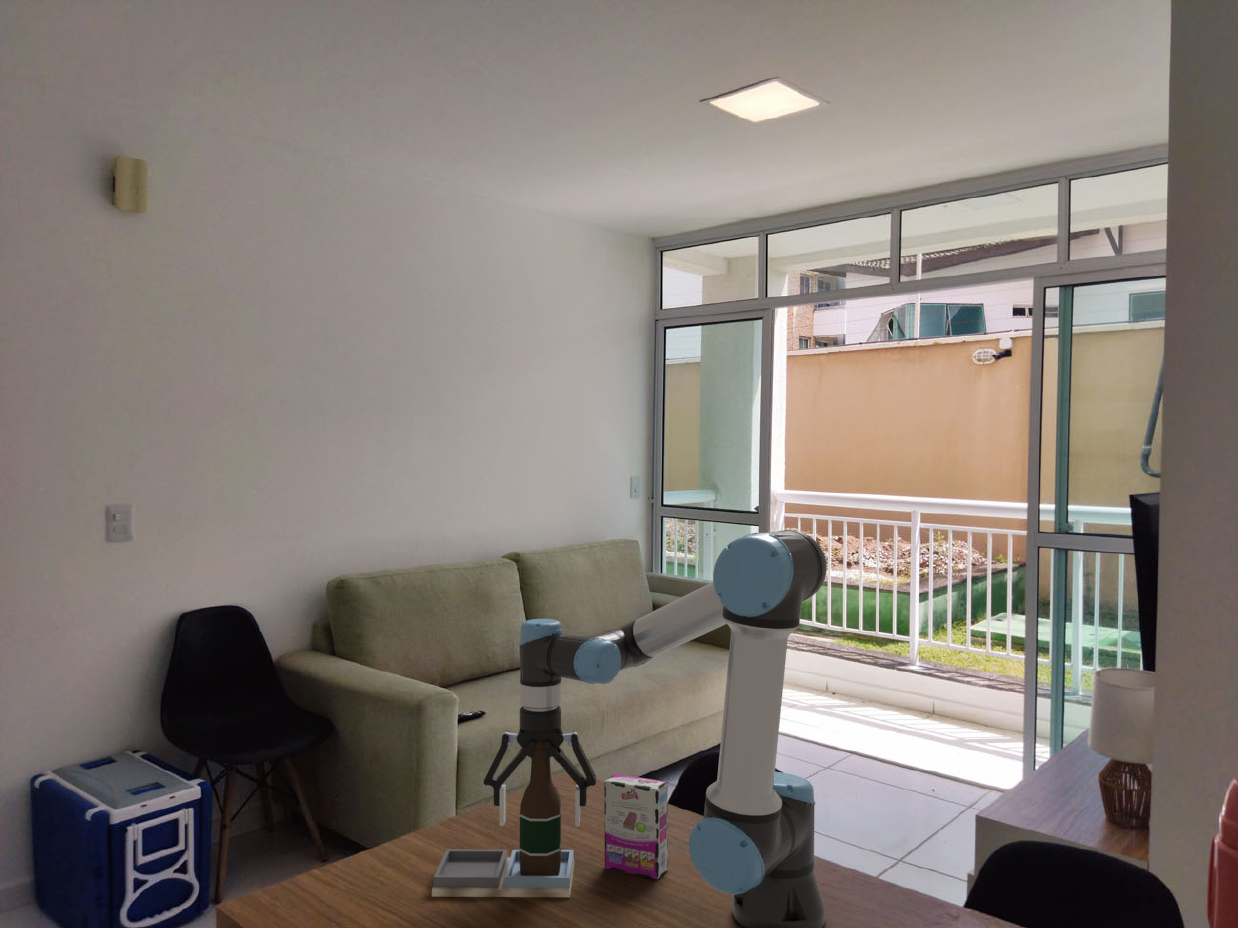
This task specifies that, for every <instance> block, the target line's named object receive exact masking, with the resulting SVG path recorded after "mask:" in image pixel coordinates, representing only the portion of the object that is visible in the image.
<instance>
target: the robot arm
mask: <svg viewBox="0 0 1238 928" xmlns="http://www.w3.org/2000/svg"><path fill="white" fill-rule="evenodd" d="M827 563H828V562H827V558H826V555H825V552H824V551H823V548H822V547H821V546H820V544H819V543H818V542H817V541H816V540H815V539H814V538H812V537H811V536H810V535H808V534H806V533H805V532H802V531H799V530H793V529H787V530H786V529H785V530H778V531H769V532H768V531H767V532H753V533H749V534H747V535H743V536H741V537H738V538H736V539H734V540H733V541H730V542H729V543H728V544H727V545H726V546H725V547H724V548H723V549H722V550H721V551H720V553H719V555H718V556H717V559H716V561H715V562H714V567H713V572H712V579H713V581H712V582H710V583H708V584H705V585H704V586H703V585H702V586H701V587H700V588H698V589H696V590H693V591H692V592H690V593H688V594H685V595H683V596H680V597H679V598H678V599H675V600H674V601H671V602H670V603H667V604H665V605H663V606H661V607H659V608H657V609H655V610H653V611H652V612H648V613H646V614H645V615H643V616H641V617H639V618H637V619H635V620H632V621H630V622H629V623H627V624H625V625H622V626H620V627H617V628H615V629H609V630H606V631H603V632H598V633H594V634H589V635H585V636H583V635H582V636H581V635H572V634H571V635H570V634H566V633H563V629H562V623H561V621H559V620H556V619H553V618H534V619H528V620H525V621H523V622H522V624H521V625H520V634H519V644H518V646H519V705H521V706H520V707H519V729H518V730H519V732H518V733H514V732H510V731H509V730H507V729H506V730H505V731H504V732H503V733H502V736H501V742H500V747H499V749H498V751H497V753H496V755H495V756H494V759H493V761H492V763H491V764H490V768H489V769H488V771H487V774H486V775H485V777H484V779H483V785H484V786H489V787H492V788H493V804H494V807H499V827H505V824H506V820H507V812H506V811H507V791H506V790H507V785H506V784H504V783H505V782H506V781H507V779H508V778H509V777H510V776H511V775H512V774H513V772H514V771H515V770H516V769H517V768H518V766H520V765H521V763H522V762H523V761H524V760H525V759H526V757H529V758H530V759H531V760H532V759H533V757H534V750H535V748H534V747H535V746H536V741H544V743H543V746H544V748H545V749H546V756H547V759H549V758H550V759H551V758H552V757H553V759H554V761H556V763H558V764H559V765H560V766H561V767H562V768H563V770H564V771H565V772H566V773H567V774H568V775H569V777H570V778H571V779H572V780H573V782H574V783H575V784H576V785H575V789H574V790H575V793H574V798H575V799H574V801H575V803H574V805H575V807H574V809H575V812H574V813H575V815H574V816H575V819H574V820H575V821H574V823H575V825H574V827H576V828H577V827H581V825H580V824H581V807H586V805H587V789H588V788H589V787H591V786H592V787H594V786H595V785H596V784H597V776H596V773H595V771H594V770H593V767H592V765H591V763H590V762H589V760H588V758H587V755H586V753H585V750H584V749H583V747H582V745H581V743H580V735H579V732H578V730H572V732H570V733H569V732H568V733H564V732H563V730H562V707H561V706H560V705H561V703H562V679H563V678H564V679H569V680H574V681H580V682H584V683H588V684H592V685H593V684H594V685H595V684H598V685H599V684H601V685H605V684H609V683H611V682H612V681H614V678H615V677H617V676H618V674H619V672H620V671H623V670H627V669H629V668H635V667H639V666H642V665H644V664H646V663H647V662H650V661H651V660H652V659H653V658H655V657H657V656H659V655H661V654H663V653H665V652H667V651H670V650H672V649H675V648H677V647H679V646H681V645H684V644H685V643H688V642H689V641H693V640H695V639H696V638H699V637H701V636H704V635H705V634H708V633H710V632H712V631H715V630H716V629H718V628H721V627H722V626H725V625H728V627H729V628H730V639H729V641H730V642H729V653H728V661H727V673H726V682H725V692H724V693H725V694H724V703H723V704H724V705H723V714H722V724H721V725H722V726H721V728H722V729H721V736H720V745H719V746H720V748H719V757H718V768H717V769H718V770H717V776H716V777H717V779H716V781H714V782H713V783H711V784H710V785H709V786H708V787H707V788H706V792H705V802H704V812H703V818H702V819H700V820H699V821H697V822H696V823H695V825H694V826H693V828H692V829H691V832H690V834H689V837H688V838H689V839H688V851H689V855H690V856H689V857H690V859H691V862H692V864H693V866H694V868H695V870H697V871H698V872H699V874H700V877H701V879H703V881H705V882H706V883H707V884H708V885H709V886H710V887H712V888H713V889H715V890H717V891H719V892H720V893H723V894H727V895H732V916H733V917H734V919H735V920H736V921H737V923H738V924H739V925H740V926H742V927H743V928H823V926H824V925H825V923H826V905H825V901H824V898H823V895H822V892H821V889H820V886H819V882H818V880H817V875H816V873H815V805H816V802H815V793H814V787H813V785H812V783H811V782H810V781H809V780H808V779H806V778H804V777H802V776H799V775H796V774H792V773H787V772H780V771H776V763H777V752H778V743H779V733H780V732H779V731H780V721H781V712H782V701H783V691H784V680H785V670H786V661H787V660H786V659H787V652H788V651H787V649H788V642H789V641H788V639H789V637H790V635H791V634H792V633H794V632H795V631H796V630H798V629H799V627H800V622H801V621H800V620H801V611H802V602H803V601H806V600H808V599H810V598H811V597H813V596H814V595H815V594H817V592H819V590H820V589H821V588H822V587H823V585H824V582H825V580H826V577H827V572H828V570H827V569H828V568H827V567H828V565H827ZM564 741H565V742H566V743H567V745H568V746H569V747H571V748H572V750H573V753H574V755H575V757H576V759H577V761H578V763H579V765H580V767H581V770H582V771H583V773H584V775H585V776H584V775H583V774H582V773H581V772H580V770H579V769H578V768H577V767H576V766H575V765H574V763H573V762H572V761H571V760H570V759H569V757H568V756H567V755H566V754H565V752H564V750H563V749H562V748H561V745H562V744H563V743H564ZM514 742H517V744H518V745H519V746H520V747H521V748H520V749H519V751H517V754H516V755H515V756H514V757H513V758H512V760H511V761H510V762H509V763H508V764H507V765H506V767H505V768H504V769H503V771H501V773H499V775H498V776H497V777H495V774H496V772H497V771H498V768H499V766H500V764H501V762H502V760H503V758H504V756H505V754H506V752H507V750H508V747H509V746H513V744H514Z"/></svg>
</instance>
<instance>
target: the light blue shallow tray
mask: <svg viewBox="0 0 1238 928" xmlns="http://www.w3.org/2000/svg"><path fill="white" fill-rule="evenodd" d="M573 860H574V861H575V856H574V849H561V867H560V872H559V875H558V876H521V874H520V849H512V851H511V855H510V860H509V864H508V867H507V870H506V874H505V877H504V888H570V882H571V875H572V867H573Z"/></svg>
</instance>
